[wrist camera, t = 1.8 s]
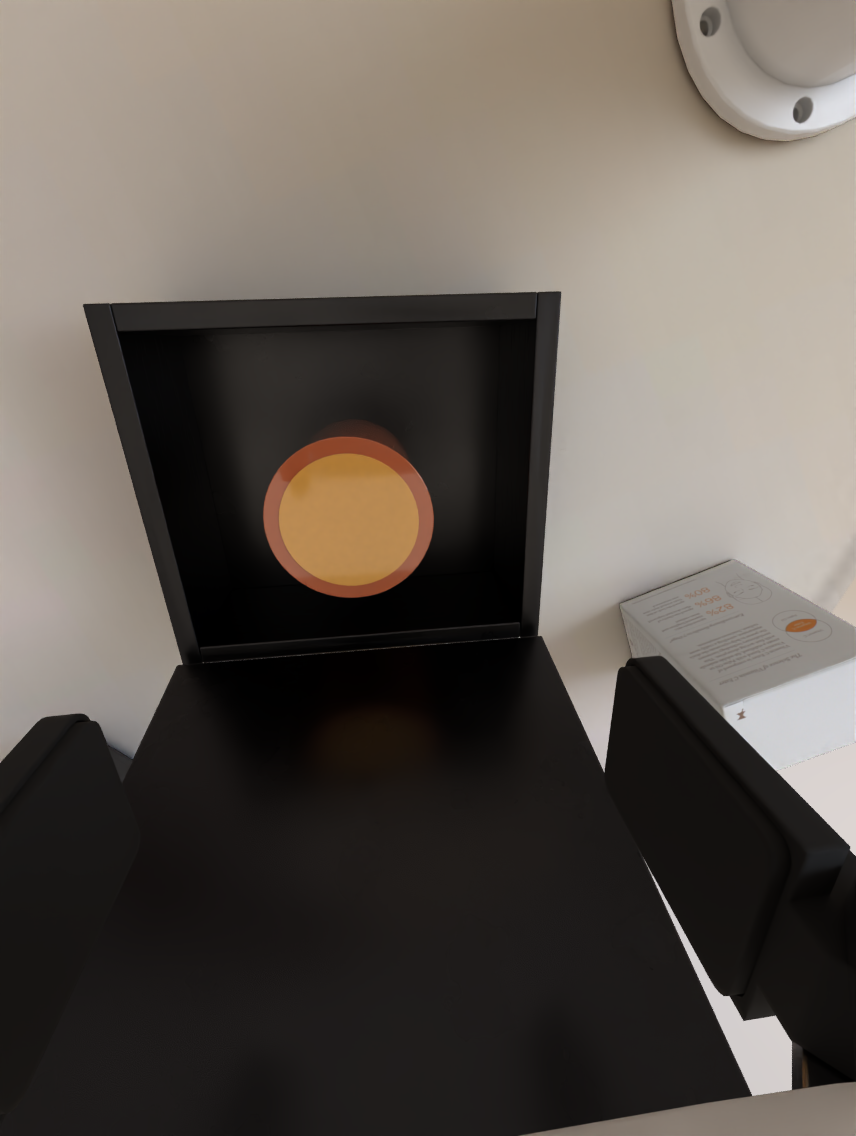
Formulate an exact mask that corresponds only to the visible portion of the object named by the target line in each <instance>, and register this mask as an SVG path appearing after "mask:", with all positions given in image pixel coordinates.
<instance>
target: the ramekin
mask: <svg viewBox="0 0 856 1136" xmlns="http://www.w3.org/2000/svg"><path fill="white" fill-rule="evenodd" d="M263 522H264V529H265V533H266V537H267V540H268V543H269V545H270V548H271V550H272V551H273V553H274V555H275V557H276V558H277V560H278V561H279V562H280V564H281V565H282V566H283V567H284V568H285V570H286V571H287V572H288V573H289V574H290V575H292V576H293V577H294V578H295V579H297V580H298V581H299V582H301V583H302V584H304V585H306V586H307V587H309V588H311V589H313V590H316V591H318V592H321V593H324V594H327V595H332V596H336V597H345V598H358V597H365V596H371V595H374V594H378V593H381V592H383V591H386V590H388V589H390V588H392V587H394V586H396V585H397V584H399V583H400V582H402V581H403V580H405V579H406V578H407V577H408V576H409V575H410V574H411V573H412V572H413V571H414V570H415V569H416V568H417V566H418V565H419V564H420V562H421V561H422V559H423V558H424V556H425V554H426V552H427V550H428V547H429V544H430V541H431V538H432V533H433V525H434V514H433V506H432V502H431V497H430V495H429V492H428V489H427V487H426V484H425V483H424V481H423V479H422V477H421V475H420V474H419V473H418V471H417V470H416V469H415V467H414V466H413V465H412V463H411V460H410V458H409V455H408V453H407V451H406V449H405V447H404V446H403V444H402V443H401V442H400V440H399V439H398V438H397V437H396V436H395V435H394V434H393V433H391V432H390V431H389V430H388V429H386V428H384V427H383V426H381V425H379V424H376V423H374V422H371V421H367V420H361V419H346V420H340V421H337V422H334V423H331V424H329V425H327V426H325V427H324V428H322V429H321V430H319V431H318V432H317V433H316V434H315V435H314V436H313V437H312V438H311V439H310V440H309V442H308V443H307V444H306V446H304V447H302V448H301V449H299V450H297V451H296V452H295V453H294V454H292V455H291V456H290V457H289V458H288V459H287V460H286V461H285V462H284V463H283V464H282V465H281V466H280V468H279V469H278V471H277V472H276V473H275V475H274V476H273V478H272V480H271V482H270V484H269V487H268V490H267V493H266V495H265V501H264V506H263Z"/></svg>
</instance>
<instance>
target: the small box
mask: <svg viewBox="0 0 856 1136" xmlns="http://www.w3.org/2000/svg"><path fill="white" fill-rule="evenodd" d="M620 609H621V612H622V616H623V621H624V625H625V629H626V633H627V637H628V641H629V645H630V649H631V653H632V657H633V658H639V657H649V656H663V657H664V658H665V659H667V660H668V662H669V663H670V664H671V665H672V666H673V667H674V668H675V669H676V670H677V671H678V672H679V673H680V674H681V675H682V676H683V677H684V678H685V679H686V680H687V681H688V682H689V683H690V684H691V685H692V686H693V687H694V688H695V689H696V690H697V691H698V692H699V693H700V694H701V695H702V696H703V697H704V698H705V699H706V700H707V701H708V702H709V703H710V704H711V705H712V706H713V707H714V708H715V709H716V710H717V711H718V712H719V713H720V714H721V716H722V717H723V718H724V719H725V720H726V721H727V722H728V723H729V724H730V725H731V726H732V727H733V728H734V729H735V730H736V731H737V732H738V733H739V734H740V735H741V736H742V737H743V738H744V739H745V740H746V741H747V742H748V743H749V744H750V745H751V746H752V747H753V748H754V749H755V750H756V751H757V752H758V753H759V754H760V755H761V756H762V757H763V758H764V759H765V760H766V761H767V762H768V763H769V764H770V765H771V766H772V767H773V768H774V770H775V771H778V770H781V769H784V768H787V767H789V766H792V765H795V764H797V763H800V762H803V761H806V760H809V759H811V758H814V757H817V756H819V755H822V754H825V753H828V752H831V751H834V750H836V749H839V748H842V747H845V746H847V745H850V744H853V743H856V627H855V626H853V625H851V624H850V623H848V622H846V621H844V620H843V619H841V618H839V617H837V616H835V615H834V614H832V613H830V612H829V611H827V610H825V609H823V608H821V607H820V606H818V605H816V604H814V603H812V602H811V601H809V600H807V599H805V598H804V597H802V596H800V595H798V594H797V593H795V592H793V591H791V590H789V589H787V588H786V587H784V586H782V585H780V584H779V583H777V582H775V581H773V580H771V579H770V578H768V577H766V576H764V575H763V574H761V573H759V572H757V571H755V570H754V569H752V568H750V567H748V566H746V565H745V564H743V563H741V562H739V561H738V560H731V561H729V562H726V563H724V564H721V565H719V566H716V567H714V568H711V569H708V570H706V571H703V572H701V573H698V574H695V575H693V576H690V577H688V578H685V579H683V580H680V581H677V582H675V583H672V584H670V585H667V586H664V587H662V588H659V589H657V590H654V591H652V592H649V593H647V594H644V595H642V596H639V597H636V598H634V599H631V600H629V601H626V602H623V603H621V604H620Z"/></svg>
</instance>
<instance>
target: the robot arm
mask: <svg viewBox="0 0 856 1136" xmlns="http://www.w3.org/2000/svg"><path fill="white" fill-rule="evenodd" d="M672 6H673V13H674V19H675V26H676V32H677V39H678V42H679V45H680V48H681V51H682V54H683V57H684V60H685V63H686V66H687V69H688V72H689V74H690V75H691V77H692V79H693V81H694V83H695V84H696V86H697V88H698V90H699V92H700V94H701V95H702V97H703V98H704V99H705V101H706V102H707V103H708V104H709V105H710V106H711V107H712V109H713V110H714V111H715V112H716V113H717V114H718V115H719V117H720V118H722V119H723V120H725V121H726V122H728V123H729V124H730V125H732V126H733V127H735V128H736V129H738V130H739V131H741V132H743V133H746V134H749V135H752V136H755V137H758V138H761V139H763V140H777V141H792V140H798V139H803V138H808V137H814V136H816V135H819V134H821V133H823V132H826V131H828V130H830V129H833V128H835V127H837V126H840V125H842V124H844V123H846V122H847V121H849V120H851V119H853V118H855V117H856V0H672ZM700 29H701V30H700ZM701 31H702V32H701ZM604 778H605V784H606V788H607V791H608V793H609V796H610V798H611V799H612V801H613V803H614V805H615V807H616V808H617V810H618V812H619V814H620V816H621V818H622V819H623V821H624V823H625V825H626V827H627V829H628V830H629V832H630V834H631V836H632V838H633V839H634V841H635V843H636V845H637V847H638V849H639V850H640V852H641V854H642V856H643V858H644V860H645V861H646V863H647V865H648V867H649V869H650V871H651V872H652V874H653V876H654V878H655V879H656V881H657V883H658V885H659V887H660V889H661V891H662V892H663V894H664V896H665V898H666V900H667V901H668V903H669V905H670V907H671V909H672V911H673V912H674V914H675V916H676V918H677V920H678V921H679V923H680V925H681V927H682V929H683V931H684V933H685V934H686V936H687V938H688V940H689V942H690V943H691V945H692V947H693V949H694V951H695V953H696V954H697V956H698V958H699V960H700V962H701V964H702V965H703V967H704V969H705V971H706V973H707V975H708V976H709V978H710V980H711V981H712V983H713V985H714V986H715V988H716V989H717V990H718V992H720V993H721V994H722V995H723V996H730V997H731V999H732V1001H733V1003H734V1005H735V1006H736V1008H737V1010H738V1011H739V1013H740V1015H741V1017H742V1019H743V1020H744V1021H746V1020H751V1019H758V1018H764V1017H769V1016H775V1015H776V1016H777V1018H778V1020H779V1021H780V1023H781V1024H782V1026H783V1028H784V1030H785V1031H786V1033H787V1035H788V1036H789V1038H790V1039H791V1041H792V1090H790V1091H783V1092H776V1093H770V1094H763V1095H756V1096H750V1097H743V1098H736V1099H730V1100H723V1101H716V1102H710V1103H704V1104H698V1105H692V1106H686V1107H681V1108H675V1109H669V1110H663V1111H658V1112H652V1113H646V1114H641V1115H635V1116H629V1117H623V1118H618V1119H612V1120H606V1121H601V1122H595V1123H589V1124H583V1125H578V1126H572V1127H566V1128H561V1129H555V1130H549V1131H543V1132H538V1133H532V1134H526V1135H520V1136H856V856H855V855H854V854H853V853H852V852H851V851H850V846H849V845H848V844H847V843H846V842H845V841H844V840H843V839H842V838H841V837H840V836H839V835H838V834H837V833H836V832H835V831H834V830H833V829H832V828H831V827H830V826H829V825H828V824H827V822H825V821H824V819H823V818H822V817H820V815H819V814H818V813H817V812H816V811H815V810H814V809H813V808H812V807H811V806H810V805H809V804H808V803H807V802H806V801H805V800H804V799H803V798H802V797H801V796H800V795H799V794H798V793H797V792H796V791H795V790H794V789H793V788H792V787H791V786H790V785H789V784H788V783H787V782H786V781H785V780H784V779H783V778H782V777H781V776H780V775H779V774H778V773H777V772H776V771H775V770H774V768H773V767H772V766H771V765H770V764H769V763H768V762H767V761H766V760H765V759H764V758H763V757H762V756H761V755H760V754H759V753H758V752H757V751H756V750H755V749H754V748H753V747H752V746H751V745H750V744H749V743H748V742H747V741H746V740H745V739H744V738H743V737H742V736H741V735H740V734H739V733H738V732H737V731H736V730H735V729H734V728H733V727H732V726H731V725H730V724H729V723H728V722H727V721H726V720H725V719H724V718H723V717H722V716H721V714H720V713H719V712H718V711H717V710H716V709H715V708H714V707H713V706H712V705H711V704H710V703H709V702H708V701H707V700H706V699H705V698H704V697H703V696H702V695H701V694H700V693H699V692H698V691H697V690H696V689H695V688H694V687H693V686H692V685H691V684H690V683H689V682H688V681H687V680H686V679H685V678H684V677H683V676H682V675H681V674H680V673H679V672H678V671H677V670H676V669H675V668H674V667H673V666H672V665H671V664H670V663H669V662H668V660H667V659H665V658H664V657H663V656H649V657H639V658H631V659H629V660H628V661H627V663H626V666H625V667H621V668H620V669H619V670H618V674H617V682H616V689H615V697H614V705H613V712H612V720H611V727H610V735H609V742H608V750H607V758H606V765H605V773H604ZM139 846H140V830H139V827H138V824H137V821H136V819H135V816H134V813H133V811H132V808H131V806H130V803H129V800H128V798H127V795H126V793H125V790H124V787H123V785H122V782H121V779H120V777H119V774H118V772H117V769H116V766H115V764H114V761H113V759H112V756H111V753H110V751H109V748H108V745H107V743H106V740H105V738H104V735H103V732H102V730H101V727H100V725H99V724H98V723H97V722H96V721H90V719H89V718H88V717H87V716H86V715H85V714H70V715H60V716H50V717H45V718H42V719H41V720H40V721H38V722H37V723H36V724H35V725H34V726H33V727H32V729H31V730H30V731H29V732H28V733H27V734H26V735H25V736H24V737H23V738H22V740H21V741H20V742H19V743H18V744H17V745H16V746H15V747H14V748H13V750H12V751H11V752H10V753H9V754H8V755H7V756H6V757H5V758H4V759H3V761H2V762H1V763H0V1125H1V1123H2V1121H3V1119H4V1117H5V1115H6V1113H9V1112H11V1111H12V1110H14V1109H15V1108H16V1107H17V1106H18V1104H19V1103H20V1102H21V1100H22V1099H23V1097H24V1095H25V1093H26V1091H27V1089H28V1087H29V1085H30V1083H31V1081H32V1079H33V1077H34V1074H35V1072H36V1070H37V1068H38V1066H39V1064H40V1061H41V1059H42V1057H43V1055H44V1053H45V1051H46V1049H47V1046H48V1044H49V1042H50V1040H51V1038H52V1036H53V1034H54V1031H55V1029H56V1027H57V1025H58V1023H59V1021H60V1018H61V1016H62V1014H63V1012H64V1010H65V1008H66V1006H67V1003H68V1001H69V999H70V997H71V995H72V993H73V991H74V988H75V986H76V984H77V982H78V980H79V978H80V975H81V973H82V971H83V969H84V967H85V965H86V963H87V960H88V958H89V956H90V954H91V952H92V950H93V948H94V945H95V943H96V941H97V939H98V937H99V935H100V932H101V930H102V928H103V926H104V924H105V922H106V920H107V917H108V915H109V913H110V911H111V909H112V907H113V904H114V902H115V900H116V898H117V896H118V894H119V892H120V889H121V887H122V885H123V883H124V881H125V879H126V877H127V874H128V872H129V870H130V868H131V866H132V864H133V861H134V859H135V857H136V855H137V852H138V850H139Z"/></svg>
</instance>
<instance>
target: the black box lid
mask: <svg viewBox="0 0 856 1136" xmlns="http://www.w3.org/2000/svg"><path fill="white" fill-rule="evenodd" d="M122 785H123V787H124V790H125V793H126V795H127V798H128V800H129V803H130V806H131V808H132V811H133V813H134V816H135V819H136V821H137V824H138V827H139V830H140V846H139V850H138V852H137V855H136V857H135V859H134V861H133V864H132V866H131V868H130V870H129V872H128V874H127V877H126V879H125V881H124V883H123V885H122V887H121V889H120V892H119V894H118V896H117V898H116V900H115V902H114V904H113V907H112V909H111V911H110V913H109V915H108V917H107V920H106V922H105V924H104V926H103V928H102V930H101V932H100V935H99V937H98V939H97V941H96V943H95V945H94V948H93V950H92V952H91V954H90V956H89V958H88V960H87V963H86V965H85V967H84V969H83V971H82V973H81V975H80V978H79V980H78V982H77V984H76V986H75V988H74V991H73V993H72V995H71V997H70V999H69V1001H68V1003H67V1006H66V1008H65V1010H64V1012H63V1014H62V1016H61V1018H60V1021H59V1023H58V1025H57V1027H56V1029H55V1031H54V1034H53V1036H52V1038H51V1040H50V1042H49V1044H48V1046H47V1049H46V1051H45V1053H44V1055H43V1057H42V1059H41V1061H40V1064H39V1066H38V1068H37V1070H36V1072H35V1074H34V1077H33V1079H32V1081H31V1083H30V1085H29V1087H28V1089H27V1091H26V1093H25V1095H24V1097H23V1099H22V1100H21V1102H20V1103H19V1104H18V1106H17V1107H16V1108H15V1109H14V1110H12V1111H11V1112H9V1113H6V1115H5V1117H4V1119H3V1121H2V1123H1V1125H0V1136H520V1135H526V1134H532V1133H538V1132H543V1131H549V1130H555V1129H561V1128H566V1127H572V1126H578V1125H583V1124H589V1123H595V1122H601V1121H606V1120H612V1119H618V1118H623V1117H629V1116H635V1115H641V1114H646V1113H652V1112H658V1111H663V1110H669V1109H675V1108H681V1107H686V1106H692V1105H698V1104H704V1103H710V1102H716V1101H723V1100H730V1099H736V1098H743V1097H750V1096H752V1094H751V1092H750V1090H749V1088H748V1085H747V1083H746V1081H745V1079H744V1077H743V1074H742V1072H741V1070H740V1068H739V1066H738V1064H737V1061H736V1059H735V1057H734V1055H733V1053H732V1051H731V1048H730V1046H729V1044H728V1042H727V1040H726V1037H725V1035H724V1033H723V1031H722V1029H721V1027H720V1024H719V1022H718V1020H717V1018H716V1015H715V1013H714V1011H713V1009H712V1007H711V1005H710V1003H709V1000H708V998H707V996H706V994H705V991H704V989H703V987H702V985H701V983H700V981H699V978H698V977H697V974H696V972H695V970H694V968H693V965H692V963H691V961H690V959H689V957H688V954H687V952H686V950H685V948H684V946H683V944H682V942H681V939H680V937H679V935H678V933H677V931H676V928H675V926H674V924H673V922H672V919H671V917H670V915H669V913H668V911H667V909H666V906H665V904H664V902H663V900H662V898H661V895H660V893H659V891H658V889H657V887H656V885H655V882H654V880H653V878H652V876H651V874H650V872H649V869H648V867H647V865H646V863H645V861H644V858H643V856H642V854H641V852H640V850H639V849H638V847H637V845H636V843H635V841H634V839H633V838H632V836H631V834H630V832H629V830H628V829H627V827H626V825H625V823H624V821H623V819H622V818H621V816H620V814H619V812H618V810H617V808H616V807H615V805H614V803H613V801H612V799H611V798H610V796H609V793H608V791H607V788H606V784H605V778H604V771H603V769H602V767H601V765H600V762H599V760H598V758H597V756H596V754H595V752H594V749H593V747H592V745H591V743H590V741H589V738H588V736H587V734H586V732H585V730H584V728H583V725H582V723H581V721H580V719H579V717H578V714H577V712H576V710H575V708H574V706H573V704H572V701H571V699H570V697H569V695H568V693H567V690H566V688H565V686H564V684H563V682H562V680H561V677H560V675H559V673H558V671H557V669H556V666H555V664H554V662H553V660H552V658H551V656H550V653H549V651H548V649H547V647H546V645H545V642H544V640H543V638H542V636H535V637H522V638H510V639H497V640H485V641H473V642H460V643H448V644H435V645H423V646H411V647H398V648H386V649H374V650H361V651H349V652H336V653H324V654H312V655H299V656H287V657H274V658H262V659H250V660H237V661H225V662H212V663H200V664H188V665H178V666H177V667H176V669H175V671H174V673H173V675H172V677H171V680H170V682H169V684H168V686H167V688H166V690H165V692H164V694H163V697H162V699H161V701H160V703H159V705H158V707H157V709H156V712H155V714H154V716H153V718H152V720H151V722H150V724H149V726H148V729H147V731H146V733H145V735H144V737H143V739H142V741H141V743H140V746H139V748H138V750H137V752H136V754H135V756H134V758H133V760H132V763H131V765H130V767H129V769H128V771H127V773H126V775H125V777H124V780H123V782H122Z"/></svg>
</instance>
